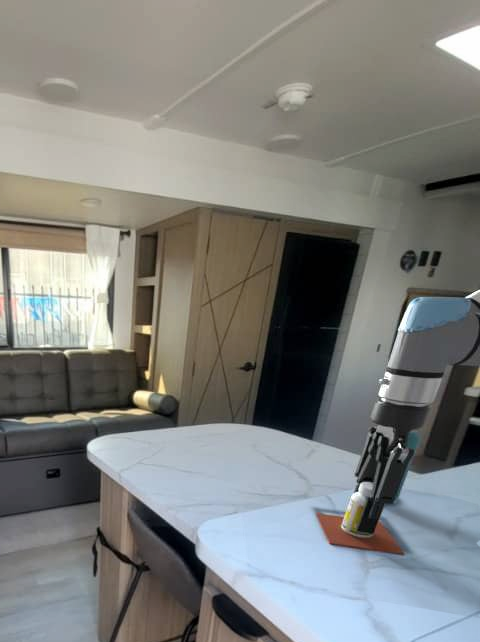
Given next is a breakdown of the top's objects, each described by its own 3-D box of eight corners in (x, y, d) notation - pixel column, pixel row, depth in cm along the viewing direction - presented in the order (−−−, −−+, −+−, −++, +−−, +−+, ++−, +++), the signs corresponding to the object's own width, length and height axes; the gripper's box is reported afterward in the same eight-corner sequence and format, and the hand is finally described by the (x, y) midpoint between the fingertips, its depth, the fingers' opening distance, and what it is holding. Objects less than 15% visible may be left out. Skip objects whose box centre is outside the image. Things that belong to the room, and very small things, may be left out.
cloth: (380, 522, 82) (380, 521, 81) (404, 555, 71) (404, 553, 71) (315, 514, 84) (316, 512, 84) (329, 544, 74) (329, 542, 74)
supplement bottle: (334, 526, 79) (349, 481, 75) (355, 523, 81) (370, 478, 76) (358, 540, 74) (375, 493, 70) (379, 536, 76) (397, 490, 72)
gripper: (360, 389, 75) (326, 500, 86) (399, 412, 59) (351, 545, 70) (406, 392, 74) (366, 505, 84) (458, 417, 58) (400, 553, 68)
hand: (359, 523), depth 77 cm, fingers closed on supplement bottle, 5 cm apart
